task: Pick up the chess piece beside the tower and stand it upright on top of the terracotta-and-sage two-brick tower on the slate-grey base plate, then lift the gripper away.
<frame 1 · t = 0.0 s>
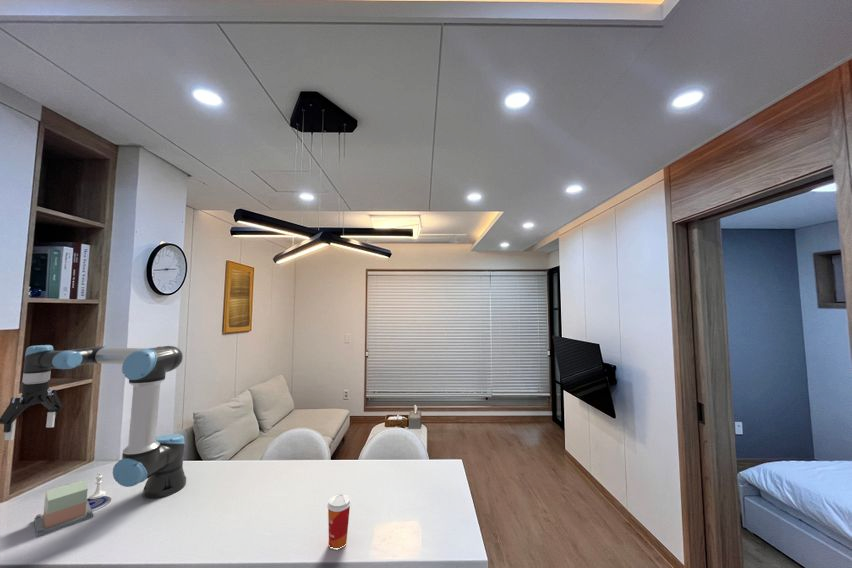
hand: (30, 433, 134), 28 cm above the table, fingers open, 13 cm apart
chess piece: (97, 496, 138), on the table
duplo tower: (64, 519, 123), on the table
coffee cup: (337, 544, 113), on the table
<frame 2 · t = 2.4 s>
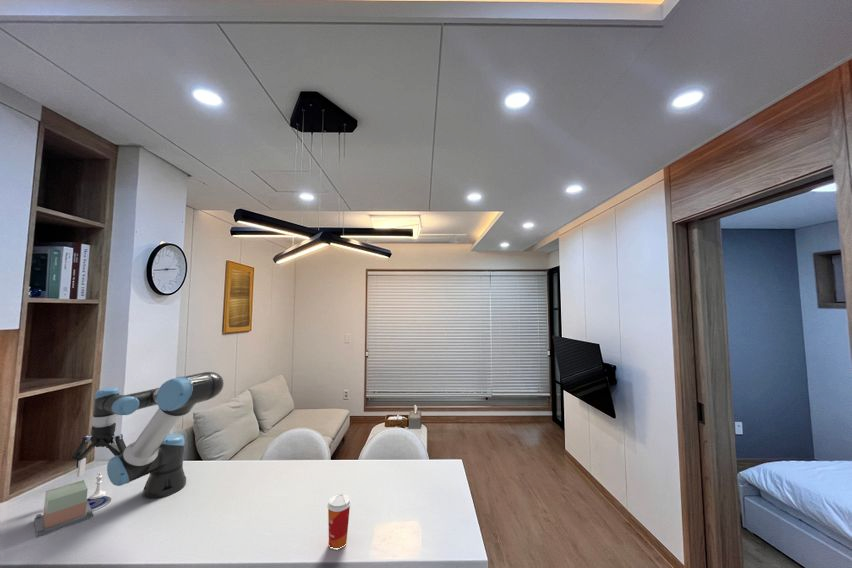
hand: (98, 474, 138), 9 cm above the table, fingers open, 13 cm apart
nothing on the table moved.
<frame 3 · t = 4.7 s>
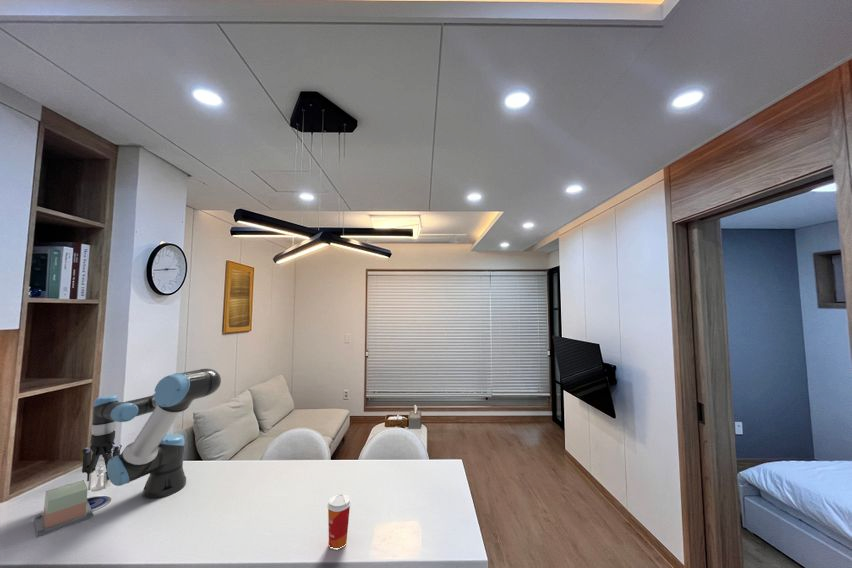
hand: (99, 487, 138), 4 cm above the table, fingers closed on chess piece, 5 cm apart
chess piece: (99, 488, 138), point 3 cm above the table, touching gripper
everything else where it was.
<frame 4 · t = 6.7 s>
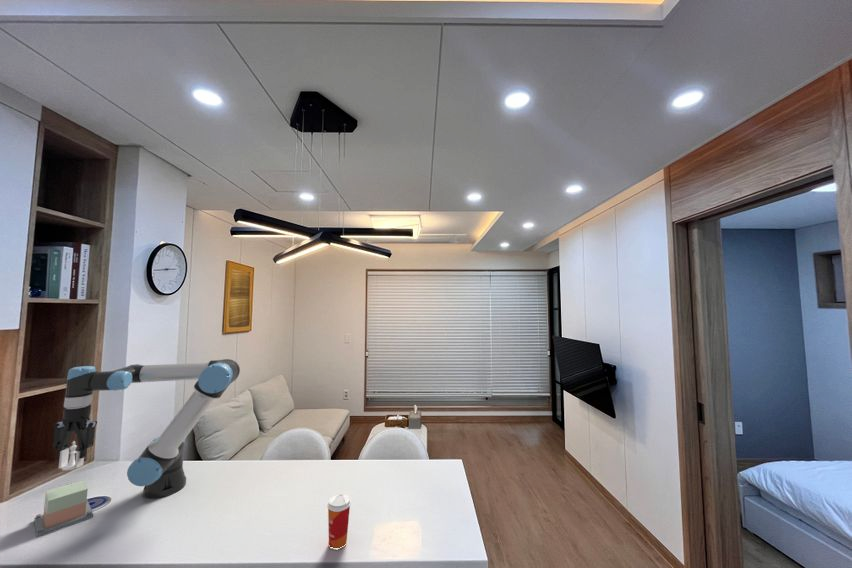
hand: (71, 466, 125), 19 cm above the table, fingers closed on chess piece, 5 cm apart
chess piece: (71, 467, 125), point 18 cm above the table, touching gripper
everything else where it was.
when the fingers open (12 cm above the table, at t = 8.8 s): chess piece stays where it is, resting on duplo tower.
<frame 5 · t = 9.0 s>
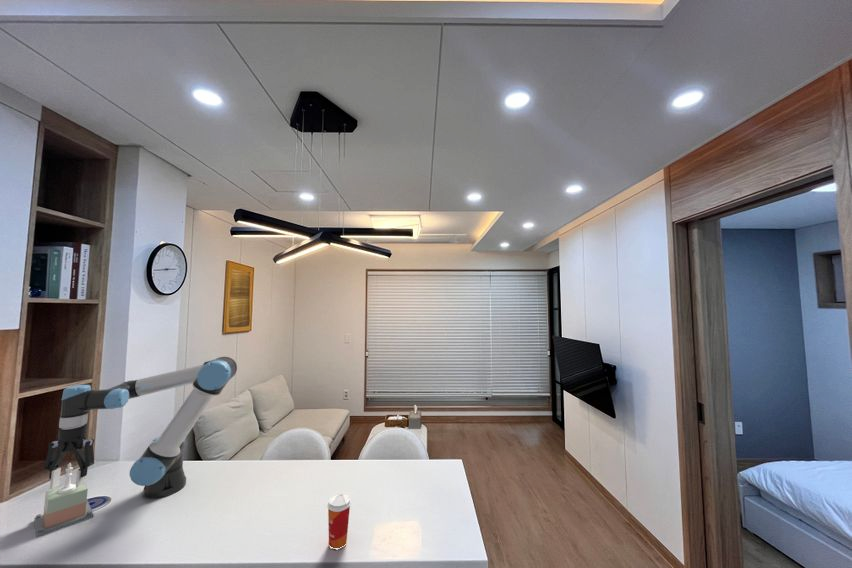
hand: (67, 486, 124), 12 cm above the table, fingers open, 8 cm apart
chess piece: (67, 490, 123), point 11 cm above the table, touching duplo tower
everything else where it was.
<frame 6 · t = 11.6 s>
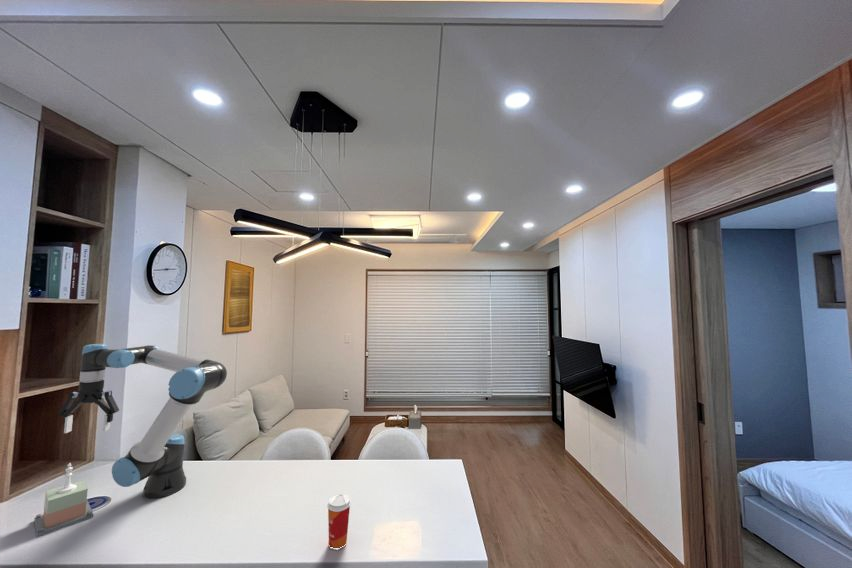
hand: (87, 431, 135), 29 cm above the table, fingers open, 13 cm apart
nothing on the table moved.
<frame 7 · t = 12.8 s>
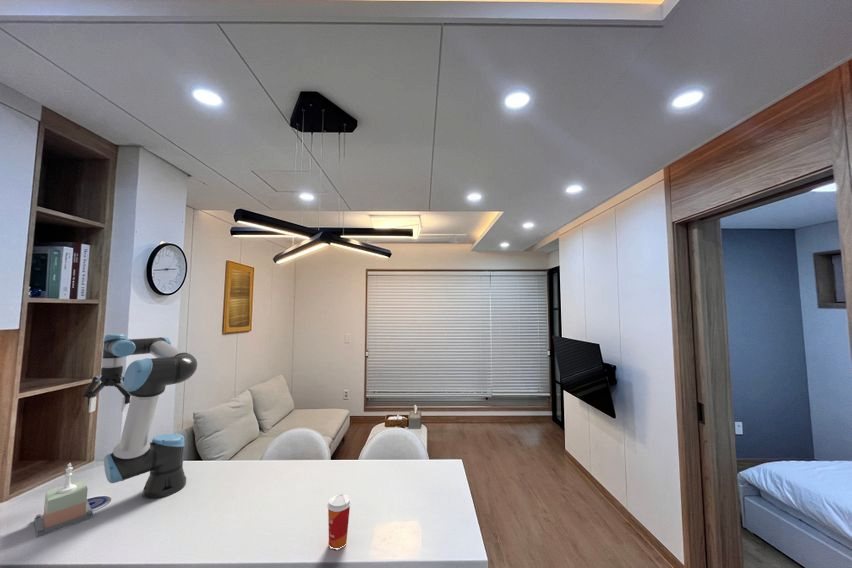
hand: (108, 411, 152), 32 cm above the table, fingers open, 13 cm apart
nothing on the table moved.
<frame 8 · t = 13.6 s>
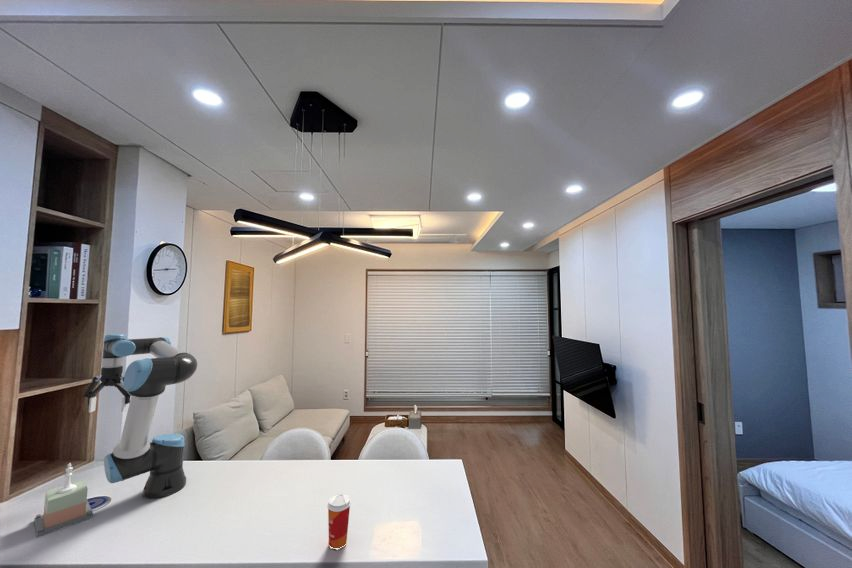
hand: (108, 411, 152), 32 cm above the table, fingers open, 13 cm apart
nothing on the table moved.
at the end: chess piece inside the target area on the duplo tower (0.1 cm from its centre), point 10.6 cm above the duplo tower's base; chess piece tilted 0°; the gripper is holding nothing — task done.
